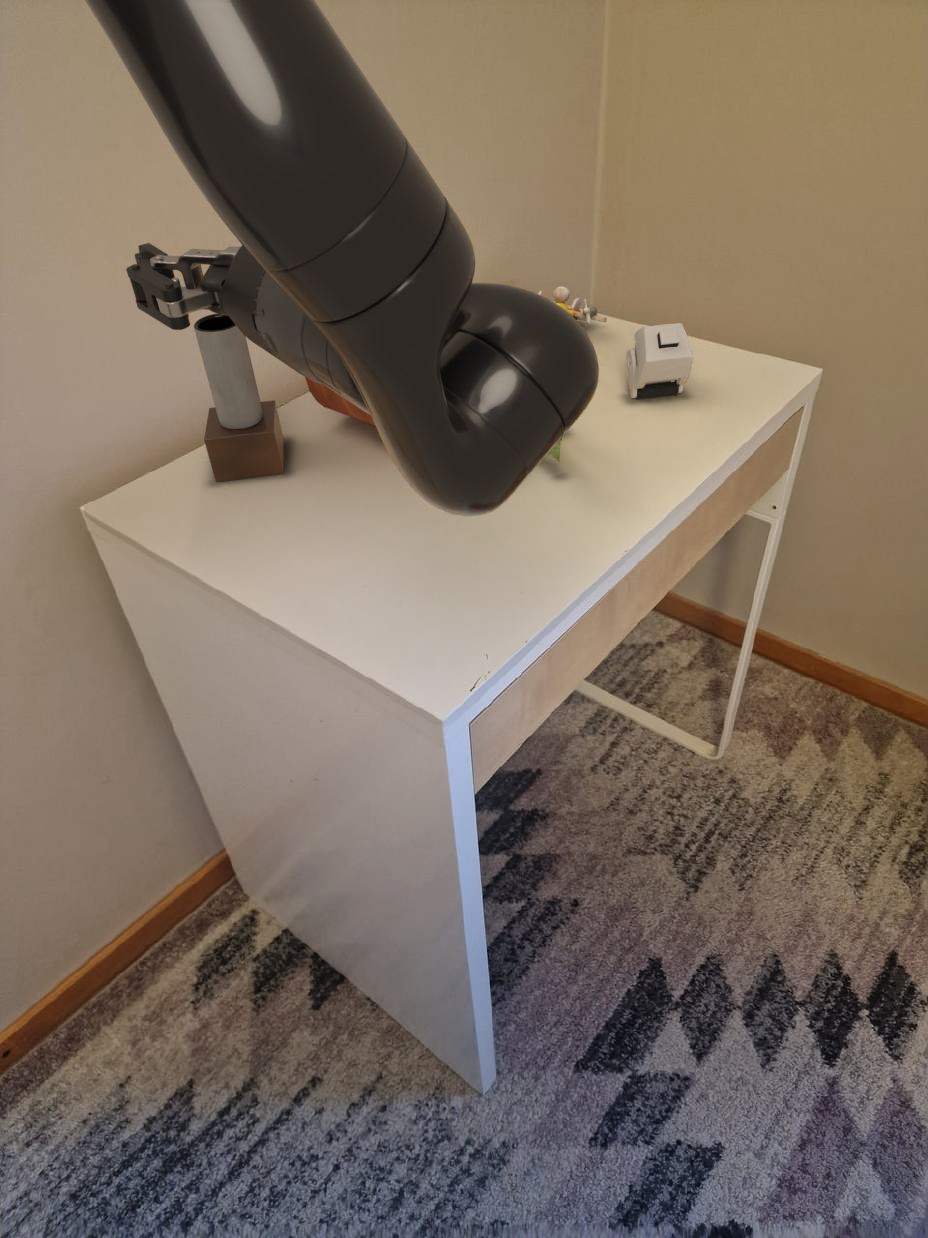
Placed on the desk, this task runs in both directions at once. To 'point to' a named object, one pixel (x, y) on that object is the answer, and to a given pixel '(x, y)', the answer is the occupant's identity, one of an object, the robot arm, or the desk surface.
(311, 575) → the desk surface
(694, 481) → the desk surface
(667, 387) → the white boxy gadget
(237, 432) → the block
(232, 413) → the grey cylindrical cup
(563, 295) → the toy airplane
